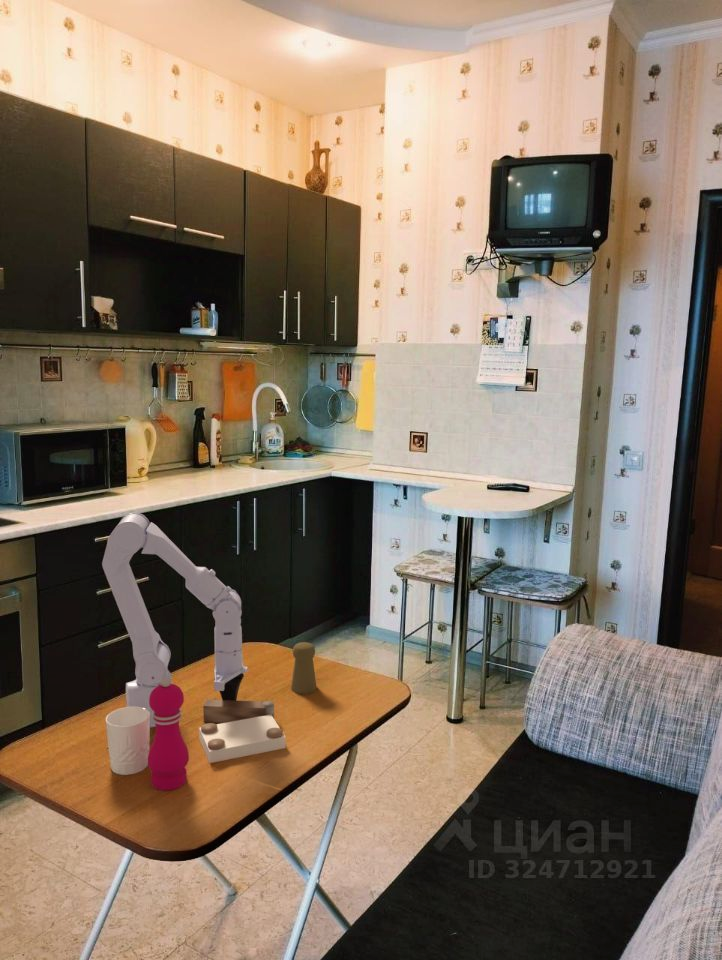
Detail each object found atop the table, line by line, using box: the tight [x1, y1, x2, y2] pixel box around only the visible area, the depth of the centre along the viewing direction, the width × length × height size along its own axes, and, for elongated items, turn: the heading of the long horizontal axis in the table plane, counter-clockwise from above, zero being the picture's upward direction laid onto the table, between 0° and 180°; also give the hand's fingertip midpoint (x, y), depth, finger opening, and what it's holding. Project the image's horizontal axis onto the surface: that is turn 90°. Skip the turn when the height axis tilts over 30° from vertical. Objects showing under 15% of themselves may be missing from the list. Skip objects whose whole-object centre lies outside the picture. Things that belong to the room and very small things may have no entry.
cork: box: [290, 641, 318, 695], centre depth 173 cm, size 6×6×11 cm
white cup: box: [105, 706, 151, 776], centre depth 139 cm, size 8×8×10 cm
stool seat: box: [198, 715, 287, 764], centre depth 148 cm, size 15×10×3 cm, turn 113°
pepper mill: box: [147, 677, 190, 791], centre depth 134 cm, size 7×7×20 cm
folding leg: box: [203, 699, 275, 723], centre depth 158 cm, size 15×3×4 cm, turn 87°
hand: (229, 707), depth 161 cm, fingers closed
